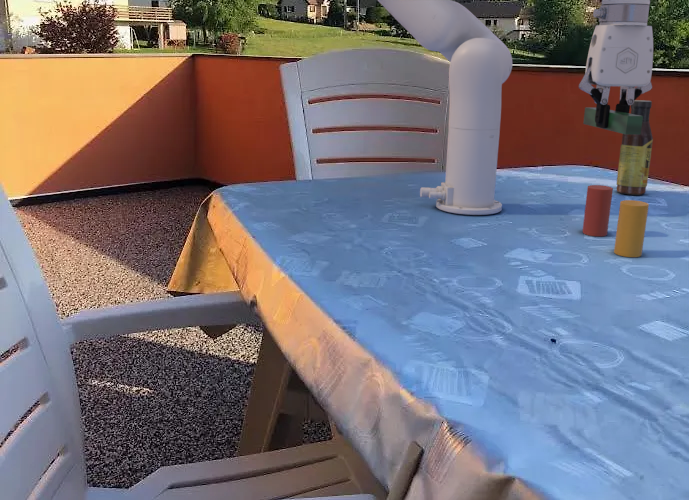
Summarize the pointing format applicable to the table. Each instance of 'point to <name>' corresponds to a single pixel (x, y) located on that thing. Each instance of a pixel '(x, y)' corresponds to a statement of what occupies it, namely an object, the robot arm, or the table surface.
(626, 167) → the sauce bottle
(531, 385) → the table surface
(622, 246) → the yellow rod
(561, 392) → the table surface
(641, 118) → the green bar
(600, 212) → the red rod
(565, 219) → the table surface
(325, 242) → the table surface
